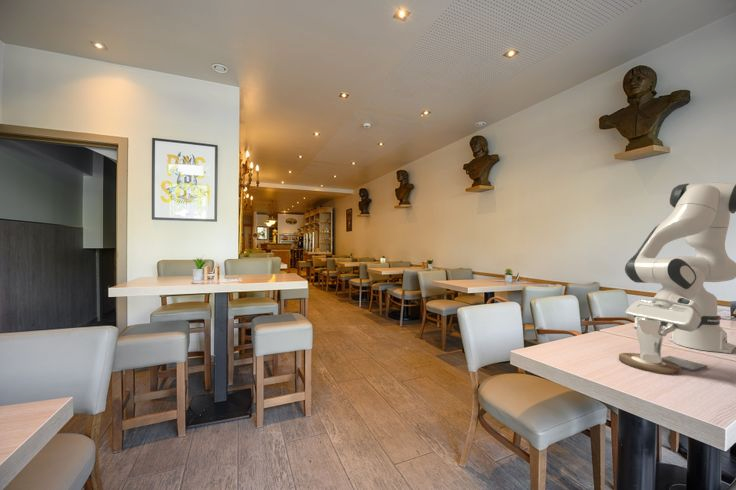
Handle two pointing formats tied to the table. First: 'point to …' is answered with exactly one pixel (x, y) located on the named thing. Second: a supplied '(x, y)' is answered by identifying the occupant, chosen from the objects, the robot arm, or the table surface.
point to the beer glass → (649, 340)
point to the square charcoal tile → (686, 364)
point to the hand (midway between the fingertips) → (648, 331)
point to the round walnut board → (649, 364)
